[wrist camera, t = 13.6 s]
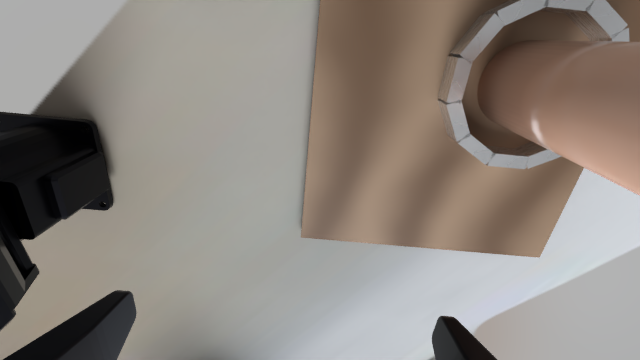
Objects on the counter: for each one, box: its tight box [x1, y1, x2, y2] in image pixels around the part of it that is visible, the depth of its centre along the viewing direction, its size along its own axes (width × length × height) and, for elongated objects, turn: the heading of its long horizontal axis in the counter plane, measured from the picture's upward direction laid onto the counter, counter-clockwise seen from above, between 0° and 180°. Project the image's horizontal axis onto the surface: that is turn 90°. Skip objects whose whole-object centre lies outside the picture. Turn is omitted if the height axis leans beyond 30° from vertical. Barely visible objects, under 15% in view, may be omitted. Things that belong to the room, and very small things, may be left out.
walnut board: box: [301, 0, 640, 257], centre depth 19 cm, size 18×18×1 cm
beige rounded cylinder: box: [477, 40, 640, 195], centre depth 13 cm, size 5×5×12 cm
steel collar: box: [437, 0, 629, 169], centre depth 17 cm, size 9×9×2 cm
